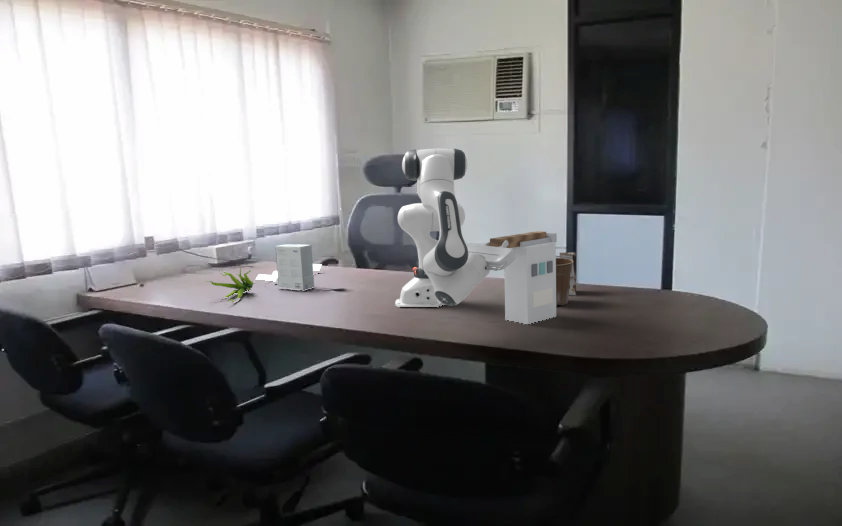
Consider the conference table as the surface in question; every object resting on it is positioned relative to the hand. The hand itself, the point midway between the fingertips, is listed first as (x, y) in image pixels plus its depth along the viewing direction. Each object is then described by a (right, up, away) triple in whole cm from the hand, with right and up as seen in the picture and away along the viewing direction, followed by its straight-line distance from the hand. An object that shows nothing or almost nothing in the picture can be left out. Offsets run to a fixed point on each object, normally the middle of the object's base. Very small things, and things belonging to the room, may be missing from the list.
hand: (500, 241), depth 216 cm
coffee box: (+33, -19, +52) cm, 65 cm away
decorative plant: (-103, -23, +65) cm, 124 cm away
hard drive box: (-82, -19, +84) cm, 119 cm away
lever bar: (+7, -1, +6) cm, 9 cm away
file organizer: (-91, -15, +113) cm, 146 cm away
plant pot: (+23, -22, +36) cm, 48 cm away
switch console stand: (+12, -26, +13) cm, 32 cm away
